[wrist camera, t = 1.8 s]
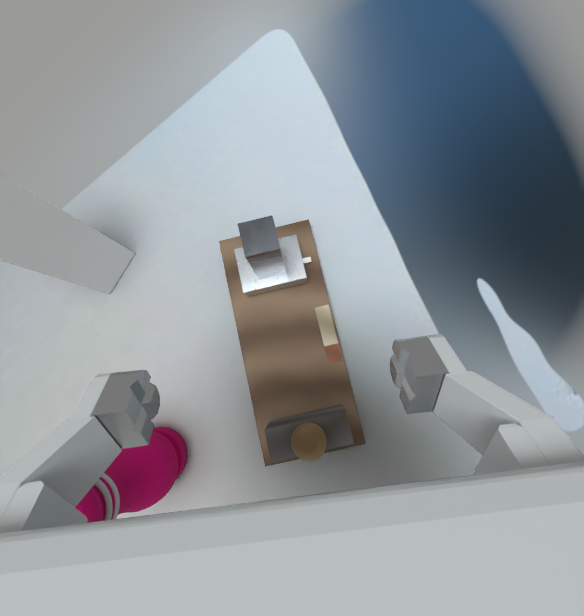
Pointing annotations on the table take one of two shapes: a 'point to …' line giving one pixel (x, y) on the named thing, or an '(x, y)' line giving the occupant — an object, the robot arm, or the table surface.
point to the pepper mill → (136, 477)
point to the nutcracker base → (294, 361)
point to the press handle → (268, 258)
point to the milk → (56, 241)
